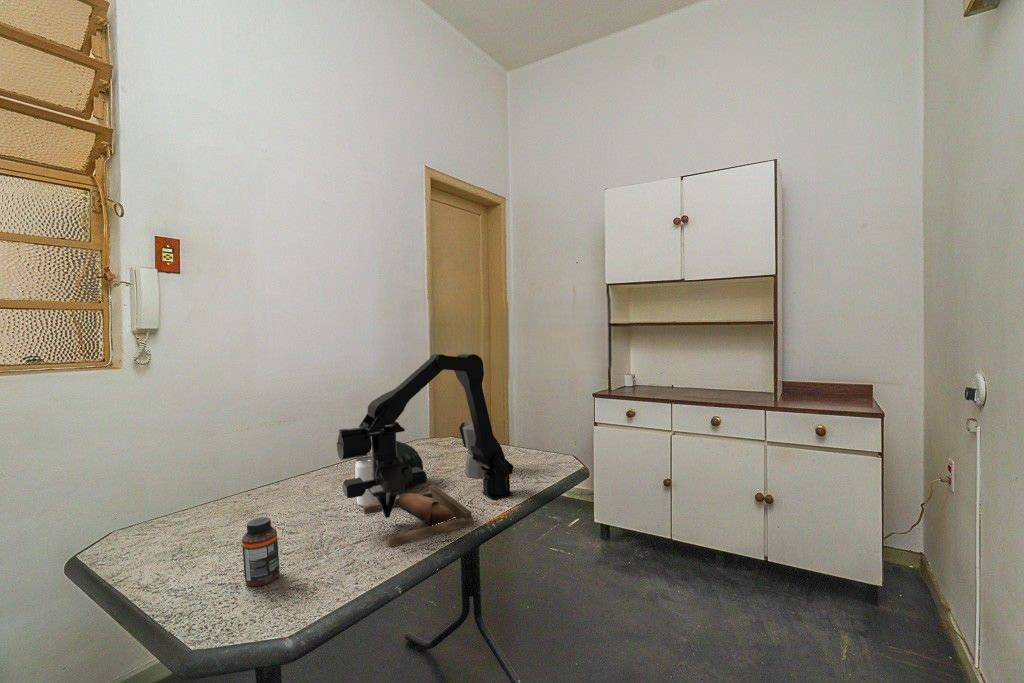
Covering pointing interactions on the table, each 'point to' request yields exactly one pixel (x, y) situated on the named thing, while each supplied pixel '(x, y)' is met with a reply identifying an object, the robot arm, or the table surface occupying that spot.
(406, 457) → the squash
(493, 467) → the robot arm
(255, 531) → the supplement bottle
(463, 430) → the coffeepot
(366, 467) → the can
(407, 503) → the sunglasses case
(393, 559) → the table surface
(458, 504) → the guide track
